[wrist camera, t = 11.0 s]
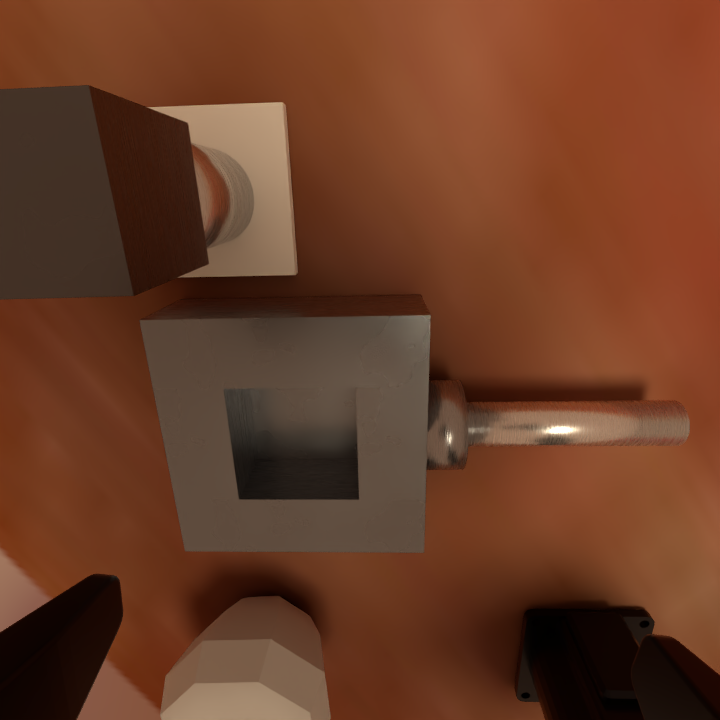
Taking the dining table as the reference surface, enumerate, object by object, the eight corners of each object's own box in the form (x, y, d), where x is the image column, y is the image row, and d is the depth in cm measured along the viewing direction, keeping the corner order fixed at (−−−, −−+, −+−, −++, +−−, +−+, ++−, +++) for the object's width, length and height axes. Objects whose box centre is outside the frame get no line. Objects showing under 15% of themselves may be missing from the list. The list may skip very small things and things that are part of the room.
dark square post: (259, 243, 17) (133, 296, 8) (172, 245, 17) (-43, 300, 8) (248, 145, 16) (88, 85, 7) (156, 149, 16) (-115, 95, 7)
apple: (296, 542, 23) (267, 670, 17) (365, 644, 25) (362, 790, 19) (170, 592, 24) (98, 726, 18) (245, 684, 26) (205, 832, 20)
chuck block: (628, 499, 21) (676, 556, 18) (213, 498, 22) (184, 552, 19) (672, 290, 18) (741, 310, 14) (181, 298, 19) (137, 320, 15)
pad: (298, 272, 18) (295, 275, 18) (153, 275, 18) (146, 278, 18) (285, 105, 16) (282, 102, 16) (123, 111, 16) (115, 108, 16)
